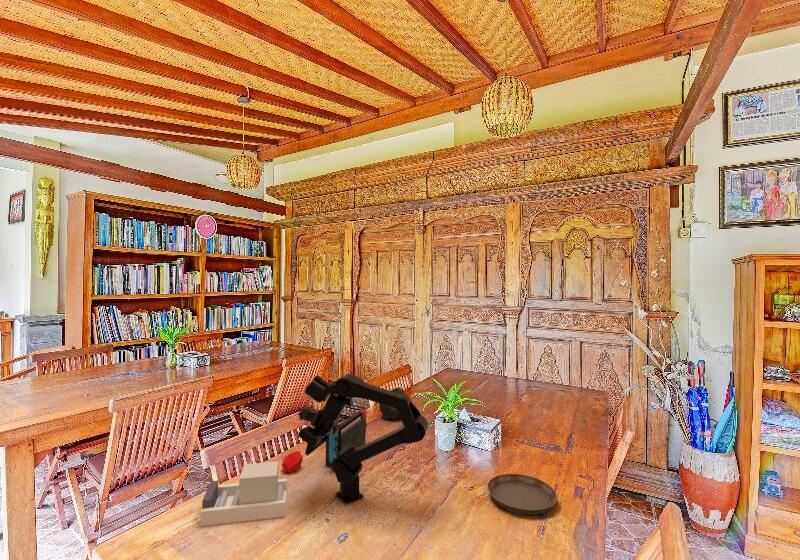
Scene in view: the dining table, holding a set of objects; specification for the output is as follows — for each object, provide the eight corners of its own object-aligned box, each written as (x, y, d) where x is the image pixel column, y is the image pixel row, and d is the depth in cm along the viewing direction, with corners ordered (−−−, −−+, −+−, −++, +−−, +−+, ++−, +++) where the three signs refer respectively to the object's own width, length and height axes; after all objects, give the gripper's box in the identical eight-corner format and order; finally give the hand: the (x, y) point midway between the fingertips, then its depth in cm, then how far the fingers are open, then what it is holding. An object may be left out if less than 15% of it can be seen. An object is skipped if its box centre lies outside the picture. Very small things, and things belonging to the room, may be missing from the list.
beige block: (278, 487, 125) (278, 461, 125) (276, 503, 116) (276, 475, 116) (243, 490, 123) (244, 464, 123) (239, 507, 114) (239, 478, 114)
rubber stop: (218, 496, 123) (218, 480, 122) (209, 517, 112) (210, 499, 112) (210, 497, 122) (211, 481, 122) (202, 518, 112) (202, 500, 112)
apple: (286, 462, 137) (303, 446, 143) (274, 460, 141) (291, 444, 148) (294, 478, 139) (310, 462, 145) (282, 476, 143) (298, 460, 149)
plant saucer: (551, 527, 112) (551, 515, 112) (478, 506, 122) (478, 495, 122) (560, 493, 130) (561, 483, 130) (497, 477, 140) (497, 468, 140)
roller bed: (286, 491, 129) (287, 478, 129) (284, 516, 115) (285, 502, 115) (211, 498, 124) (212, 485, 124) (200, 526, 110) (200, 511, 110)
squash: (369, 408, 195) (390, 386, 192) (380, 400, 209) (399, 380, 206) (389, 431, 191) (411, 409, 188) (399, 421, 205) (419, 401, 202)
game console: (335, 474, 140) (336, 432, 140) (319, 471, 142) (320, 429, 142) (369, 443, 166) (370, 408, 166) (355, 441, 169) (356, 406, 169)
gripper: (323, 393, 138) (300, 432, 138) (298, 401, 120) (271, 446, 120) (350, 411, 135) (326, 452, 135) (327, 422, 117) (300, 469, 117)
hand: (306, 454), depth 127 cm, fingers closed
